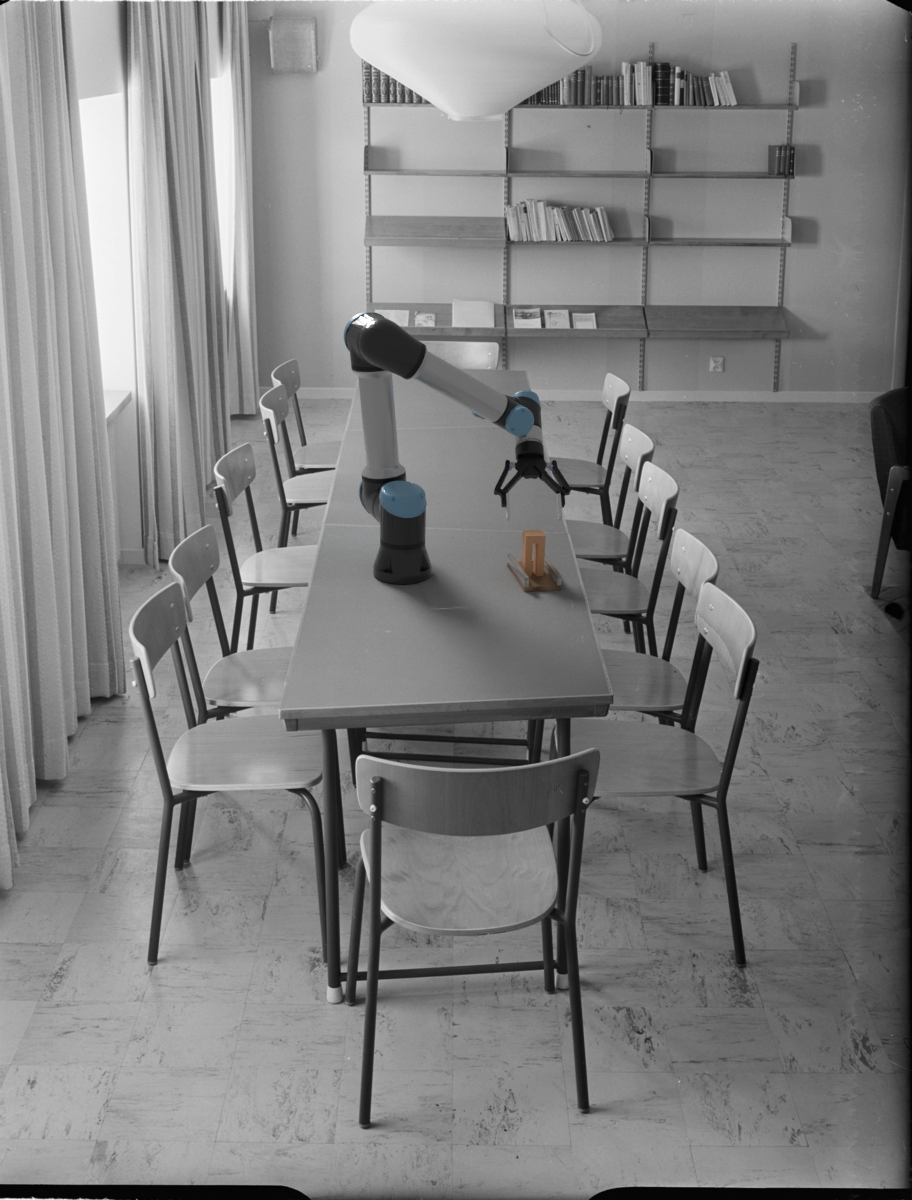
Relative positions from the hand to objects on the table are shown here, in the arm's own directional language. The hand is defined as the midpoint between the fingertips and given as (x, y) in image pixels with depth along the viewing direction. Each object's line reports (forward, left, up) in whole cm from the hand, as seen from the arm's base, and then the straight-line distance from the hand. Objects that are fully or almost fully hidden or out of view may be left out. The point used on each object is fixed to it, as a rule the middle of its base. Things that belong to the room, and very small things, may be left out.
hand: (534, 518), depth 309 cm
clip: (-2, -6, -13) cm, 14 cm away
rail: (-1, -6, -14) cm, 16 cm away
